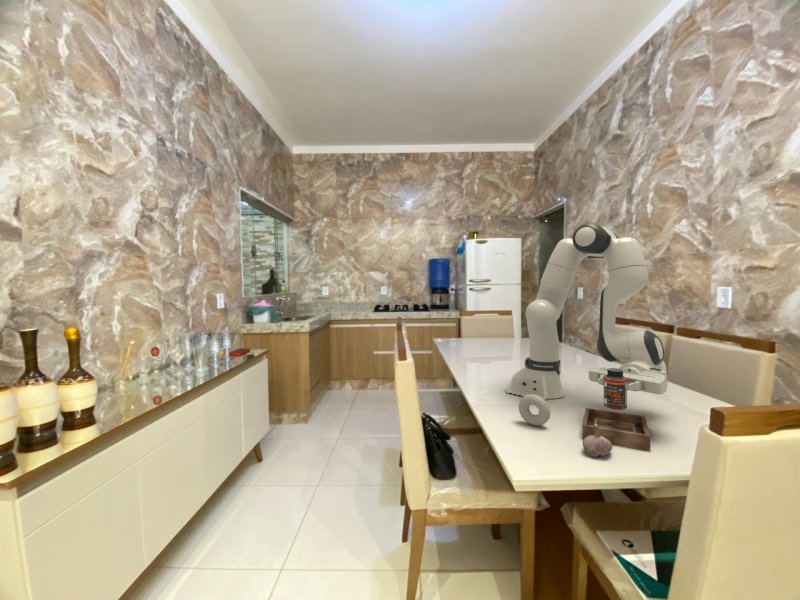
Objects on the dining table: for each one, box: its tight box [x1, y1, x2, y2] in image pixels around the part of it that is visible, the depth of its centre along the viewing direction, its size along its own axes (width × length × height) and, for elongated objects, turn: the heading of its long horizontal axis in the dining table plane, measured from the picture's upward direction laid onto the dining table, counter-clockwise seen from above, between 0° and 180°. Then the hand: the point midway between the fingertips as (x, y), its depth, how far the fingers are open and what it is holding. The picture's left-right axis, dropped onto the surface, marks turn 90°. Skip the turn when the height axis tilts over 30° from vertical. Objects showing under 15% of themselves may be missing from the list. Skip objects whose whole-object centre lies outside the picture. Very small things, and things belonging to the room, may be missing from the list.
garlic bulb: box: [582, 424, 613, 458], centre depth 92 cm, size 8×7×8 cm
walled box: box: [582, 407, 651, 452], centre depth 103 cm, size 16×16×4 cm
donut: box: [518, 394, 551, 427], centre depth 111 cm, size 10×4×10 cm, turn 48°
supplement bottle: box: [603, 367, 628, 411], centre depth 103 cm, size 6×6×11 cm
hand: (613, 384), depth 102 cm, fingers closed on supplement bottle, 6 cm apart
